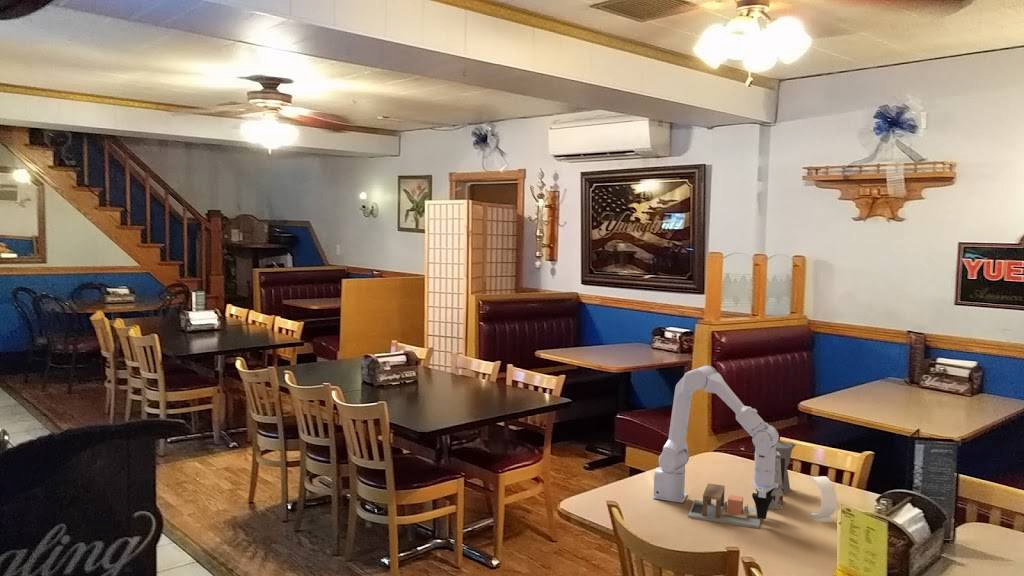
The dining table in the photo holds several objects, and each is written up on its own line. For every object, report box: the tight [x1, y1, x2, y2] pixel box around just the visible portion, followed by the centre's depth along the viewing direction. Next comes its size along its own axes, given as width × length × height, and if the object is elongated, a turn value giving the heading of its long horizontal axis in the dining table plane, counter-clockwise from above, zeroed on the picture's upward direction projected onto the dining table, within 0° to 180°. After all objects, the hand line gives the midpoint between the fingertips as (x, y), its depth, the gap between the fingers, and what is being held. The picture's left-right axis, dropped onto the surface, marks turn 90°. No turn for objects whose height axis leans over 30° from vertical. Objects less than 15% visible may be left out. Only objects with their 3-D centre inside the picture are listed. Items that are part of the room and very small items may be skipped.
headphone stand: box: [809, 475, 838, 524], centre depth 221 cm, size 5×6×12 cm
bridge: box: [702, 483, 726, 518], centre depth 225 cm, size 5×11×6 cm, turn 158°
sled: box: [721, 500, 758, 519], centre depth 222 cm, size 12×6×4 cm, turn 68°
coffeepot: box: [752, 435, 797, 494], centre depth 245 cm, size 15×9×18 cm, turn 103°
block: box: [727, 494, 744, 515], centre depth 222 cm, size 4×4×4 cm
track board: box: [687, 499, 762, 529], centre depth 224 cm, size 20×13×1 cm, turn 68°
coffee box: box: [768, 450, 785, 510], centre depth 233 cm, size 9×6×16 cm
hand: (762, 513), depth 220 cm, fingers open, 7 cm apart
